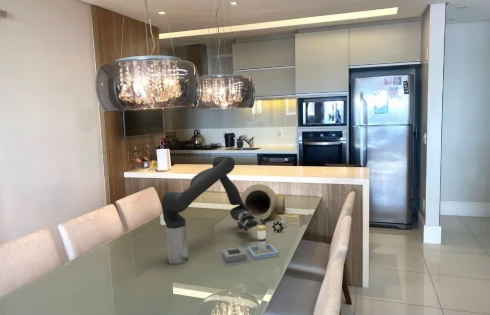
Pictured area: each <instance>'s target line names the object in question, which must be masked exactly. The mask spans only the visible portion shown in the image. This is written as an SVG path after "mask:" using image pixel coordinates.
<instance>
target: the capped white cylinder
mask: <svg viewBox="0 0 490 315" xmlns="http://www.w3.org/2000/svg"><path fill="white" fill-rule="evenodd" d="M266 226H267V225H266ZM266 226H265V225H260V224H259V225H258V226H257V227H256V230H257V245H258V250H257V254H263V253H268V251H267V249H266V244H267V234H266V232H267V231H266V229H267V227H266Z"/></svg>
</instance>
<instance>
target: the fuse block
mask: <svg viewBox="0 0 490 315" xmlns="http://www.w3.org/2000/svg"><path fill="white" fill-rule="evenodd" d="M218 256H219V257H220V259H221V262H222V263H223V265H224V266H225V267H224V268H226V267H233V266H239V265H240V266H241V265H245V264H251V263H252V262H251V260H250V259H249V257H248V256H247V252H245V250H244V249H243V247H242V246H238V247H231V248H225V249H222V250H221V252H220V253H218Z"/></svg>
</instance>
